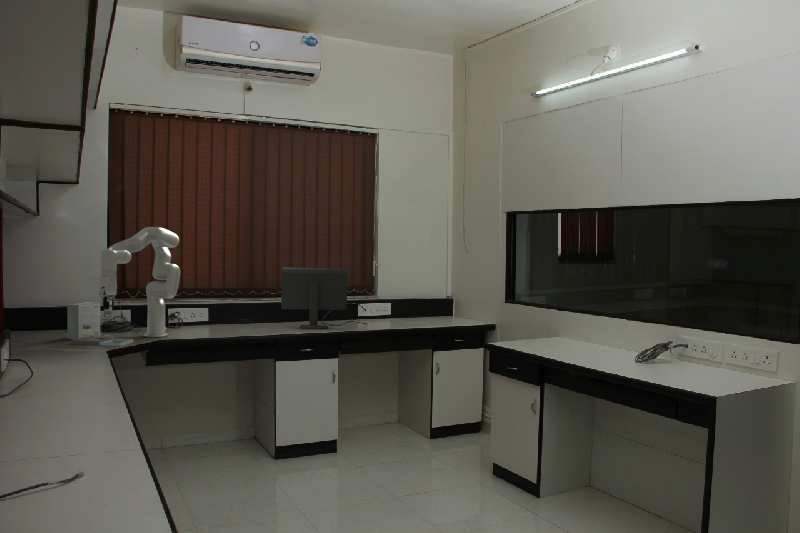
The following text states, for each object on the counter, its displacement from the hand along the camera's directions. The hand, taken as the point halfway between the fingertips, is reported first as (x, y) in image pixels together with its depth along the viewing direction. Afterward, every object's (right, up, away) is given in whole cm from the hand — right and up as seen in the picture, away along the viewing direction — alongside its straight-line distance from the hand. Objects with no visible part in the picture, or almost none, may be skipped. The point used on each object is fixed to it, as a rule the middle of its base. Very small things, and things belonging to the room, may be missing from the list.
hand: (108, 308), depth 324 cm
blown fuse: (0, -3, 0) cm, 3 cm away
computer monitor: (+94, -19, +94) cm, 134 cm away
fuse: (-12, -18, +2) cm, 22 cm away
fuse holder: (-9, -19, +2) cm, 21 cm away
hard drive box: (-22, -18, +17) cm, 33 cm away
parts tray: (+5, -19, -1) cm, 20 cm away
